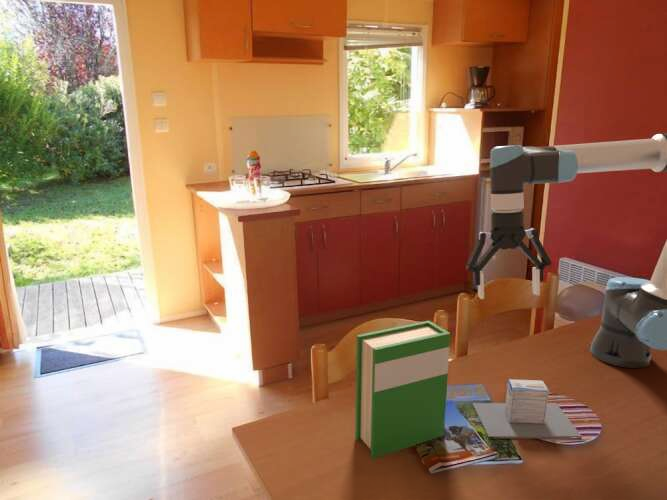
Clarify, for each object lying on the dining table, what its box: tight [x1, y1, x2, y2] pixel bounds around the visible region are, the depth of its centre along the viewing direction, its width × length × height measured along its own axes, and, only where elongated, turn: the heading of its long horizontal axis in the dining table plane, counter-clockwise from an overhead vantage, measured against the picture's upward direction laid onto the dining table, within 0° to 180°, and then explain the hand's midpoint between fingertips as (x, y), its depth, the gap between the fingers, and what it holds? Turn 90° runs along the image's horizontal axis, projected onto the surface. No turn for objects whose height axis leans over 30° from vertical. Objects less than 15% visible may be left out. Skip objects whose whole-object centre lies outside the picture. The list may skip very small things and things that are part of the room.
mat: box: [472, 402, 583, 439], centre depth 118 cm, size 20×13×1 cm, turn 90°
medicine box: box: [505, 378, 550, 424], centre depth 117 cm, size 8×4×9 cm, turn 85°
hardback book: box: [354, 320, 451, 460], centre depth 109 cm, size 18×7×24 cm, turn 116°
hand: (508, 296), depth 129 cm, fingers open, 13 cm apart
